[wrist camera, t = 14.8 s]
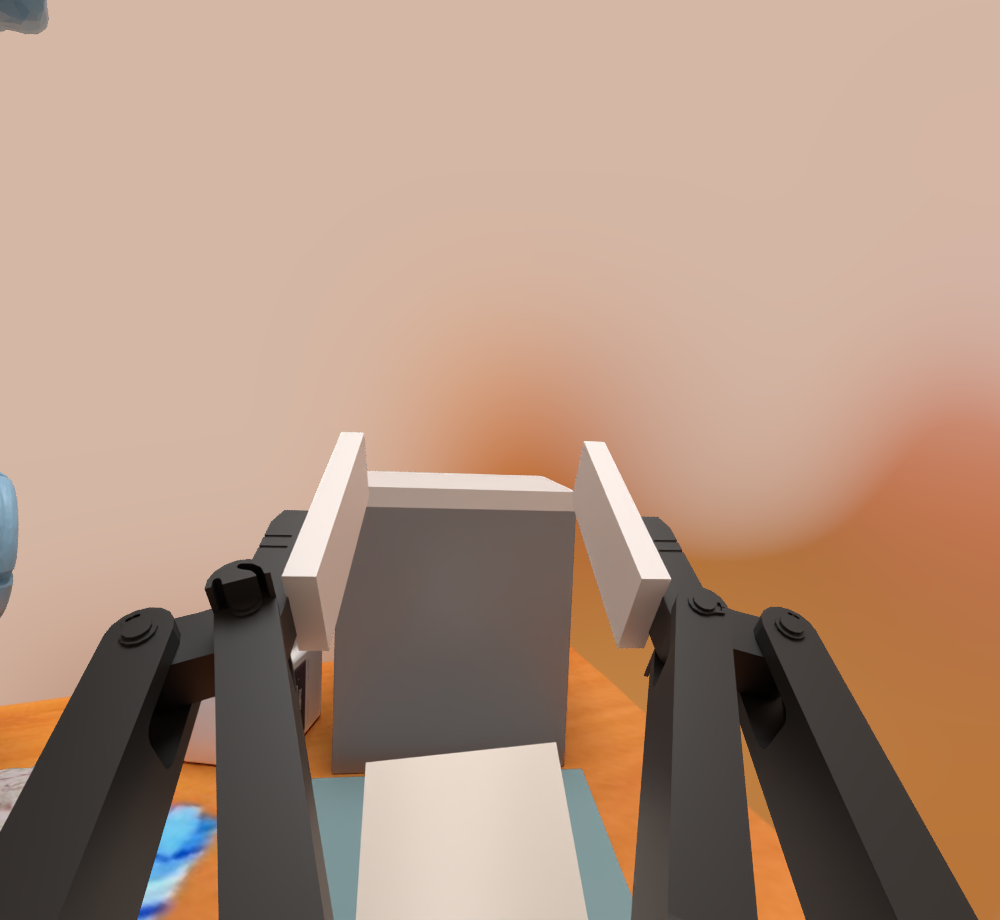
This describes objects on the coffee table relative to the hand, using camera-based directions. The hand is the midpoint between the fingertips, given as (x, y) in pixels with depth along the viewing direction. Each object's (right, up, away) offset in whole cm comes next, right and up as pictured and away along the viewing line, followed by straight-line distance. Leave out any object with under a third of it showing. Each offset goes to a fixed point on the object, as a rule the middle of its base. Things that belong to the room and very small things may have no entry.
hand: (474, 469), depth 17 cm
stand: (-4, -23, +27) cm, 36 cm away
